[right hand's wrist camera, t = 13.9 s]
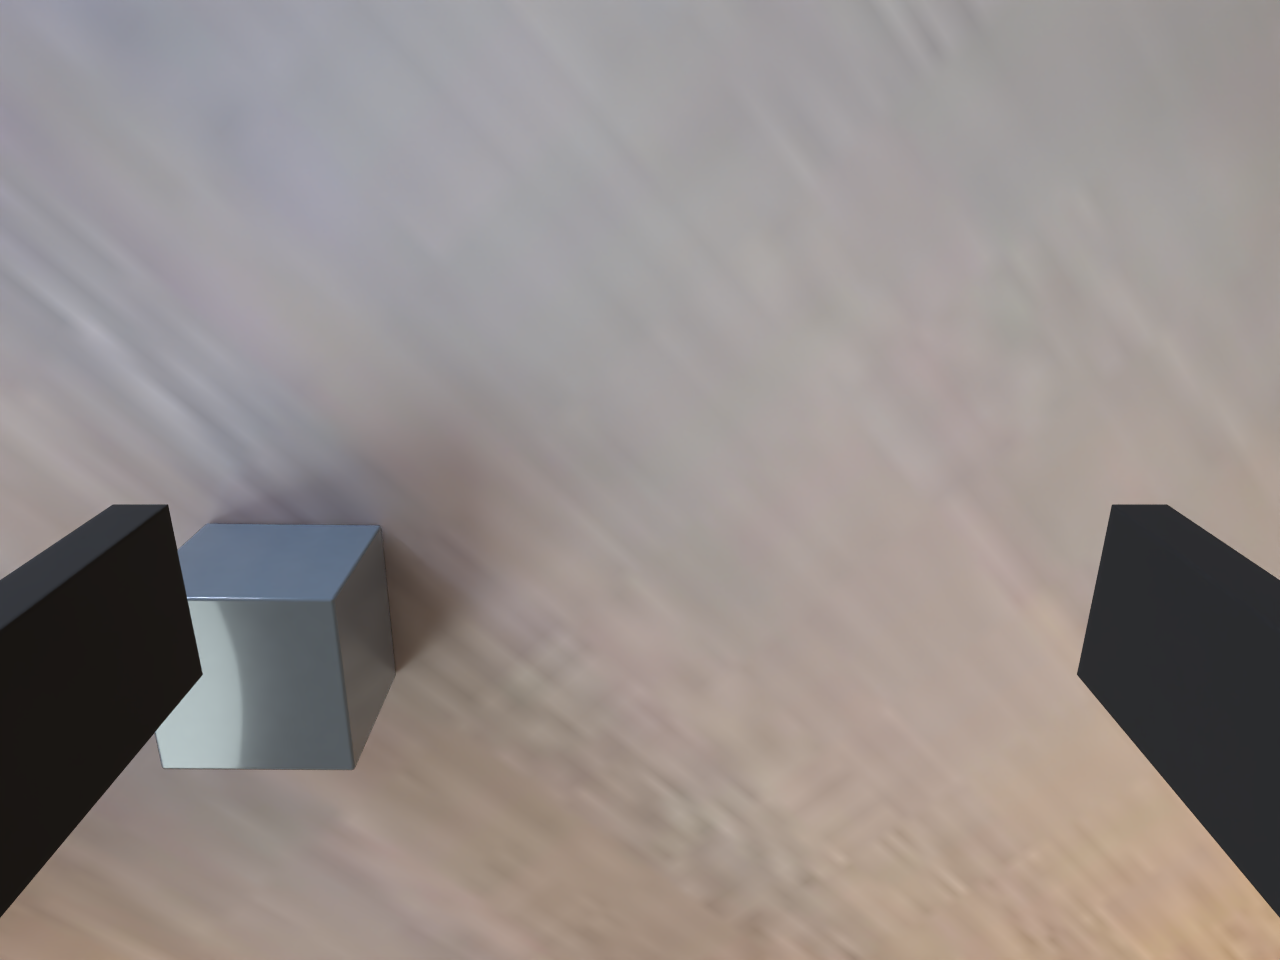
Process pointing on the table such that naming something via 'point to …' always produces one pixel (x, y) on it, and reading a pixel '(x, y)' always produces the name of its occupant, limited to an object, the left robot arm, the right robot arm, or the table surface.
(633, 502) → the table surface
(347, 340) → the table surface
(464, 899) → the table surface
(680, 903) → the table surface
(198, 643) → the cube
